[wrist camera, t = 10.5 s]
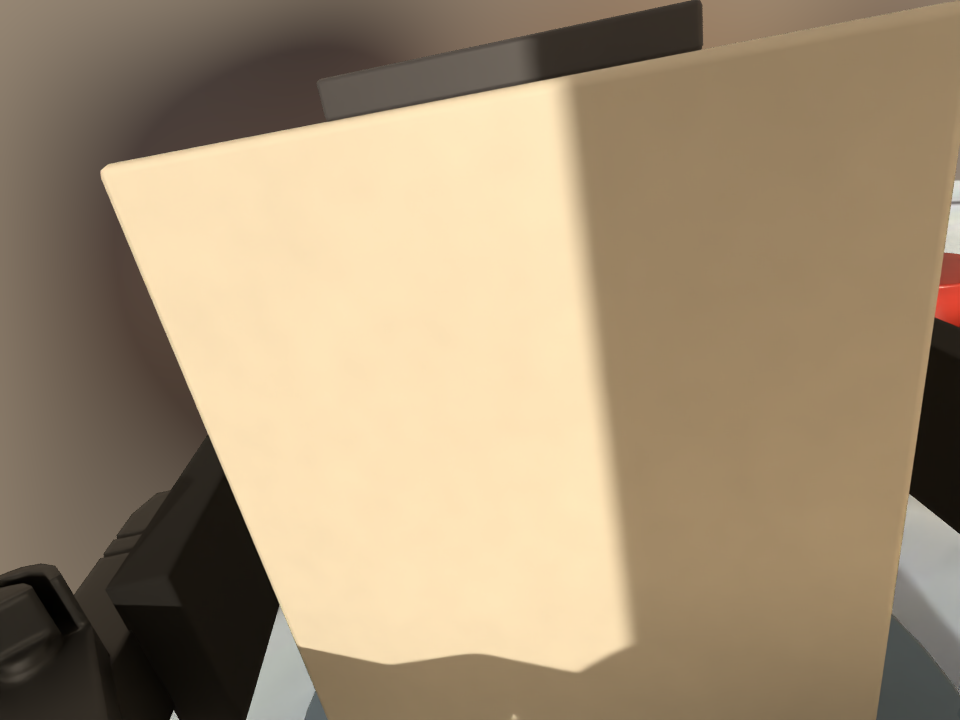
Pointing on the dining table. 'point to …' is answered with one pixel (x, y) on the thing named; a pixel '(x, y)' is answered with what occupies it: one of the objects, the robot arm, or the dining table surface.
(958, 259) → the button
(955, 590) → the dining table surface
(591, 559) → the panel
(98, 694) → the robot arm
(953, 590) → the dining table surface
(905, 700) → the swivel base
